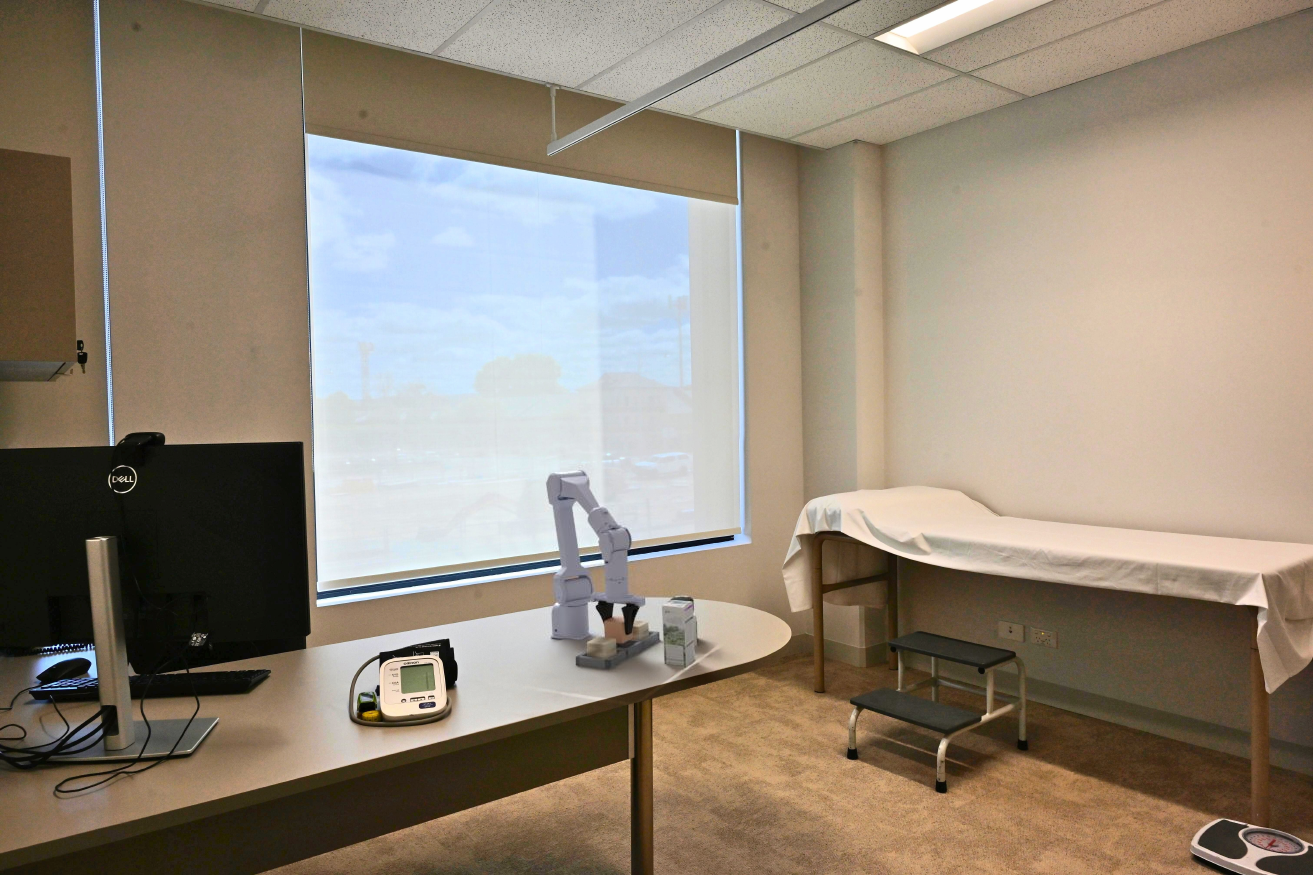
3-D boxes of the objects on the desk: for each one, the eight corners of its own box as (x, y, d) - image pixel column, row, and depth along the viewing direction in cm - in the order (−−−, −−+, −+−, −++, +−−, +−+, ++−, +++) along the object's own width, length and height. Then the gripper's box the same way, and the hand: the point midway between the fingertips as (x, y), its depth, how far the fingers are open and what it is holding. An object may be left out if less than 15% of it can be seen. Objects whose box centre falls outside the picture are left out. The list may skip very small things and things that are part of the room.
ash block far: (622, 644, 206) (621, 624, 206) (632, 638, 210) (631, 619, 210) (639, 646, 204) (638, 626, 203) (649, 640, 208) (648, 621, 208)
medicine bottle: (697, 648, 203) (696, 600, 202) (669, 648, 203) (667, 601, 202) (696, 639, 210) (695, 593, 209) (669, 640, 210) (667, 594, 209)
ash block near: (587, 663, 192) (586, 642, 192) (599, 657, 196) (598, 636, 196) (605, 665, 190) (604, 644, 189) (616, 659, 194) (615, 638, 194)
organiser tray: (575, 667, 191) (575, 656, 191) (629, 638, 213) (628, 628, 213) (608, 672, 187) (608, 660, 187) (659, 641, 209) (659, 631, 209)
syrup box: (695, 660, 193) (693, 600, 192) (686, 668, 187) (683, 606, 187) (673, 658, 195) (671, 598, 194) (663, 666, 190) (661, 604, 189)
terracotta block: (604, 641, 199) (604, 621, 199) (615, 635, 203) (614, 615, 203) (622, 643, 196) (621, 623, 196) (632, 637, 201) (632, 617, 201)
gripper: (582, 579, 199) (585, 634, 200) (634, 583, 192) (636, 640, 193) (598, 573, 205) (600, 626, 206) (648, 577, 198) (650, 632, 199)
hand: (618, 632), depth 200 cm, fingers closed on terracotta block, 5 cm apart
